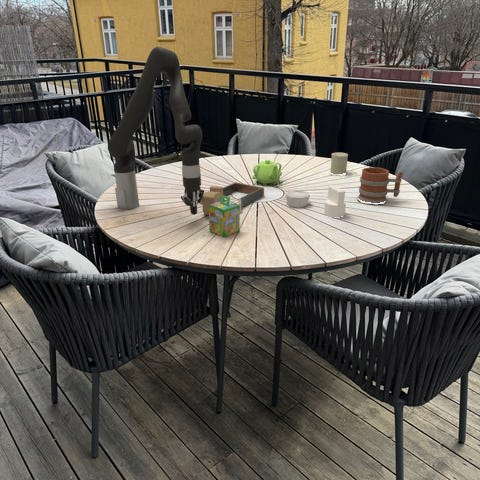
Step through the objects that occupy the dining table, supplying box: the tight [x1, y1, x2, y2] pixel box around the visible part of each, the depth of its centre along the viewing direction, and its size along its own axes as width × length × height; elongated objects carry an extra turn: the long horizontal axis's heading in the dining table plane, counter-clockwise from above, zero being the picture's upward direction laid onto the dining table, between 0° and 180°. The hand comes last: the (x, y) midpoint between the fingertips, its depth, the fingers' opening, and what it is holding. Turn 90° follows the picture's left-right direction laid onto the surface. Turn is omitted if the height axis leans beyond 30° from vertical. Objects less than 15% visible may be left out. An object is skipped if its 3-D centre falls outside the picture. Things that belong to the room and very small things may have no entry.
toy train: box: [201, 185, 225, 216], centre depth 190 cm, size 6×17×10 cm, turn 167°
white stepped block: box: [323, 185, 347, 217], centre depth 183 cm, size 9×9×12 cm
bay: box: [199, 181, 265, 214], centre depth 204 cm, size 26×24×4 cm
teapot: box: [252, 159, 283, 187], centre depth 227 cm, size 16×14×13 cm
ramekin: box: [285, 190, 311, 208], centre depth 197 cm, size 11×11×5 cm
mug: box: [357, 166, 403, 203], centre depth 198 cm, size 14×19×15 cm
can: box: [330, 152, 349, 174], centre depth 241 cm, size 9×9×12 cm
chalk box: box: [208, 195, 241, 238], centre depth 168 cm, size 9×9×15 cm
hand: (194, 213), depth 180 cm, fingers closed
